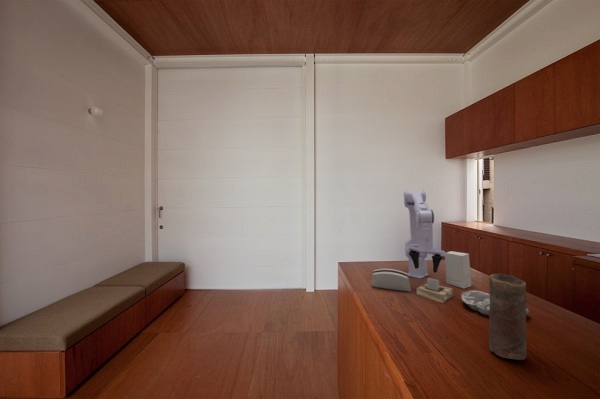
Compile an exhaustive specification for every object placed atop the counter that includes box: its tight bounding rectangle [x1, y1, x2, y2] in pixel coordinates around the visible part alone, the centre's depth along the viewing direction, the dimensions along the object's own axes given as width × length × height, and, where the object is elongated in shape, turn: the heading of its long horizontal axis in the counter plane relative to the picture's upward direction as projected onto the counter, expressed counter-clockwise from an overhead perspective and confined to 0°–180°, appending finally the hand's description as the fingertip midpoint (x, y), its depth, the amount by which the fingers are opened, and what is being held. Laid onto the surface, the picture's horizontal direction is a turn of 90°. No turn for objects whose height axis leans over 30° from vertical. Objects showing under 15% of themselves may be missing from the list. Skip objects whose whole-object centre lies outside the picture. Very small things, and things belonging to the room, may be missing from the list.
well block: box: [416, 282, 454, 304], centre depth 100 cm, size 10×10×3 cm
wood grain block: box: [426, 277, 441, 292], centre depth 100 cm, size 4×4×6 cm
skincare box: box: [444, 250, 472, 289], centre depth 111 cm, size 8×6×15 cm
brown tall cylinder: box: [488, 273, 527, 361], centre depth 63 cm, size 8×7×20 cm
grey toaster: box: [371, 268, 412, 292], centre depth 110 cm, size 17×5×10 cm, turn 64°
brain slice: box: [460, 290, 530, 317], centre depth 88 cm, size 20×17×3 cm
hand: (425, 270), depth 103 cm, fingers open, 7 cm apart
